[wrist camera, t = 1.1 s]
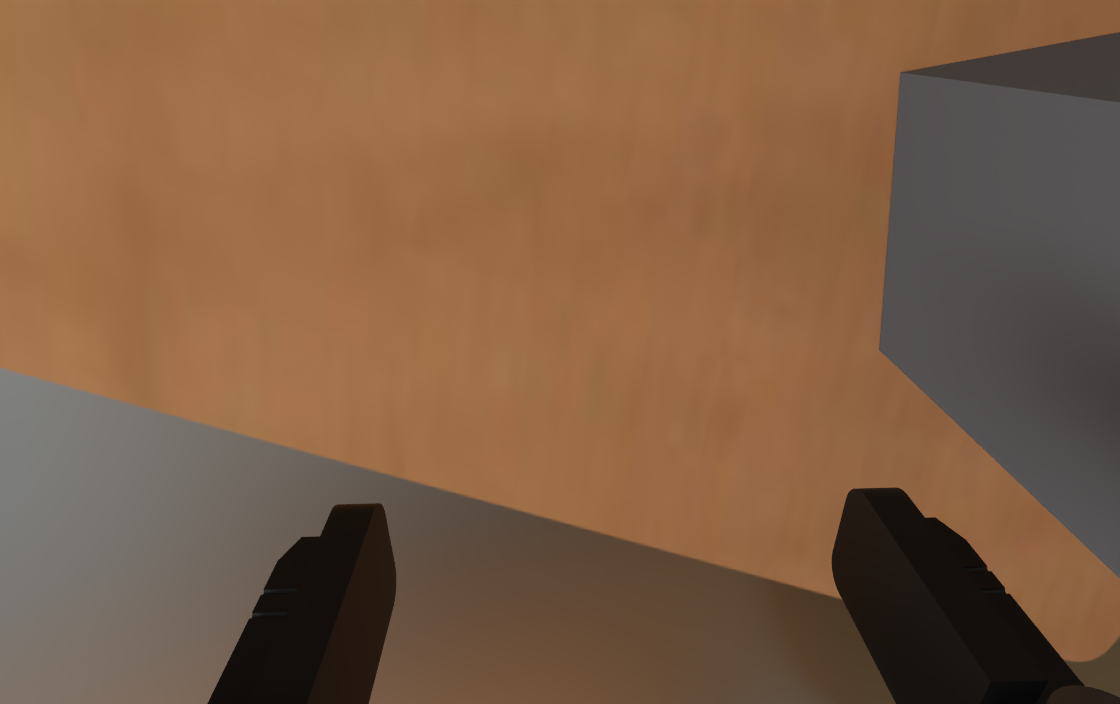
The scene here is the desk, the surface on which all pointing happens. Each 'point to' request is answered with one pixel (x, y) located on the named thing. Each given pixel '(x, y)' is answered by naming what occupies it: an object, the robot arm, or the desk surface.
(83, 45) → the desk surface
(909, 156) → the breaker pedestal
